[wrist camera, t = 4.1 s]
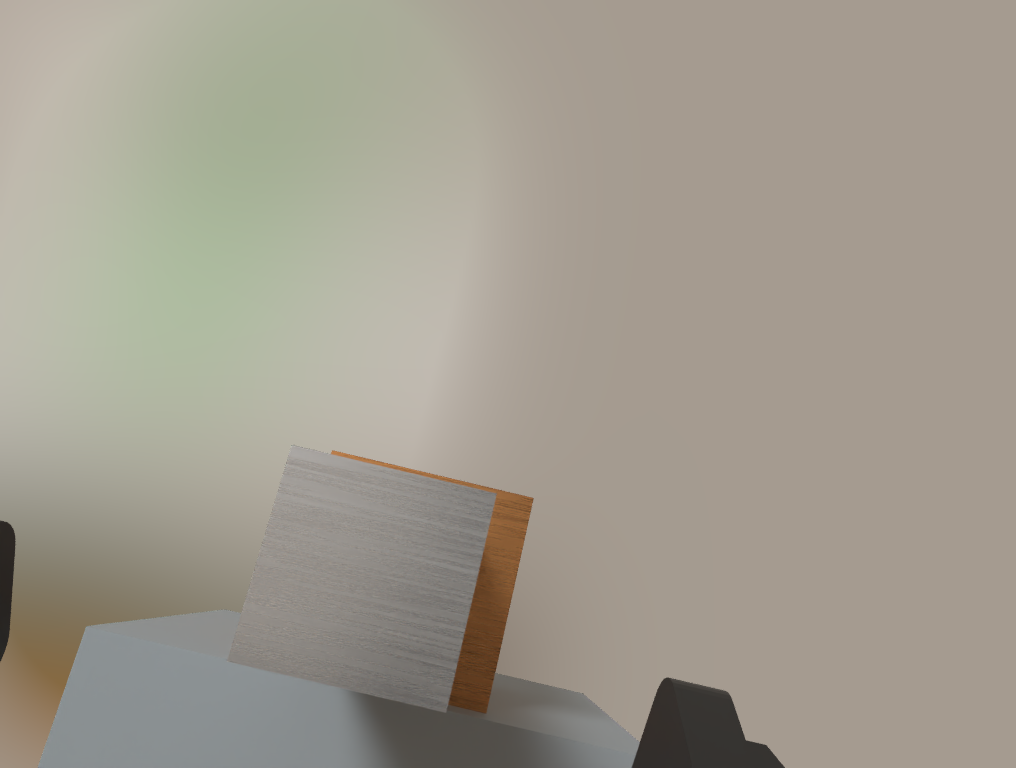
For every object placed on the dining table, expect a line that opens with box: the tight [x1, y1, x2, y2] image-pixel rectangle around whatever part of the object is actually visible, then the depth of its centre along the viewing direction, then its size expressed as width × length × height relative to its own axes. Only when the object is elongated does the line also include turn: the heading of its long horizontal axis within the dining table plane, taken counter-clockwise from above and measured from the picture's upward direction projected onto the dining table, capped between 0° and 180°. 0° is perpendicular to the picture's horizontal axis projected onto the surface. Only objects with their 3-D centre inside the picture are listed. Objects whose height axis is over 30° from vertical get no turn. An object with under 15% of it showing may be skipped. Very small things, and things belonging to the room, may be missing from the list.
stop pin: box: [227, 445, 533, 714], centre depth 19 cm, size 17×6×6 cm, turn 4°
